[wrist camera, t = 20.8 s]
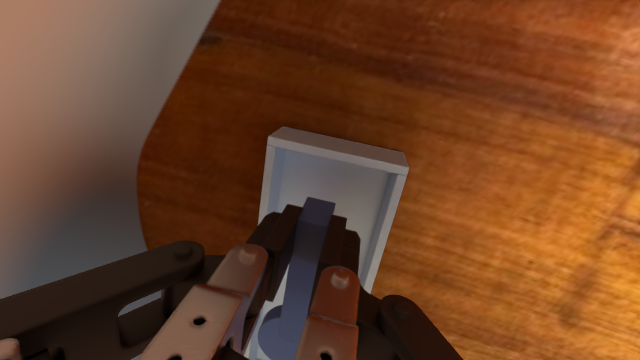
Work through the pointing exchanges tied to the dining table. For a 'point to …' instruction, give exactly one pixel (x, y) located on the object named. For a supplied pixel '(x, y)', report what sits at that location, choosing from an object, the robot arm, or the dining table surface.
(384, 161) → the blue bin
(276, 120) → the dining table surface
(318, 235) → the blue spoon
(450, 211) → the dining table surface
